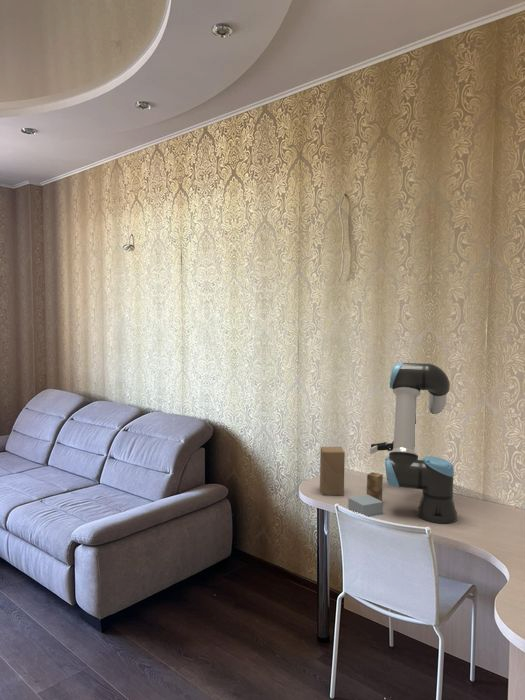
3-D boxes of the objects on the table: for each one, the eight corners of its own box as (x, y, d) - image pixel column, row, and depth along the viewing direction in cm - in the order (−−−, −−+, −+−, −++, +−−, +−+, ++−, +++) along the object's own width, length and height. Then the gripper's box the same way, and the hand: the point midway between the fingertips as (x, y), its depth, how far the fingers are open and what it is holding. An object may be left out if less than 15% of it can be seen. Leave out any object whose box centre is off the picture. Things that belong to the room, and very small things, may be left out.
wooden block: (344, 495, 228) (344, 452, 228) (321, 495, 229) (322, 451, 228) (341, 488, 238) (341, 446, 238) (319, 488, 239) (320, 446, 238)
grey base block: (382, 513, 208) (382, 501, 207) (362, 517, 203) (363, 505, 203) (367, 506, 216) (367, 494, 216) (348, 509, 212) (348, 497, 212)
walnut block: (382, 501, 222) (382, 474, 221) (377, 504, 218) (378, 476, 217) (371, 498, 225) (372, 472, 224) (366, 502, 221) (367, 474, 220)
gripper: (427, 456, 239) (411, 466, 222) (377, 448, 254) (359, 457, 237) (427, 440, 238) (411, 449, 221) (378, 433, 253) (359, 441, 236)
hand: (384, 453), depth 229 cm, fingers open, 13 cm apart
